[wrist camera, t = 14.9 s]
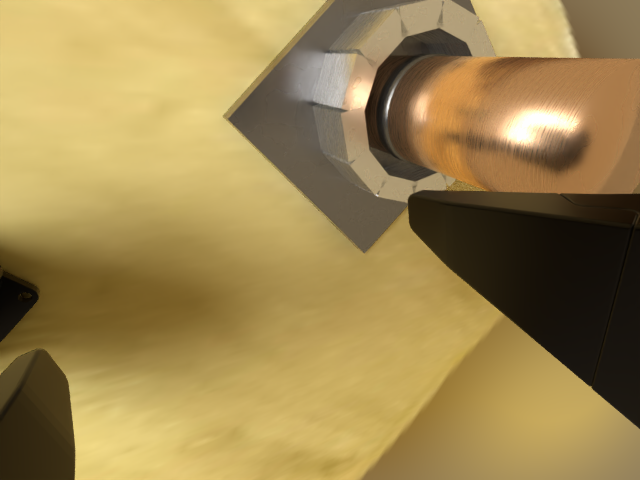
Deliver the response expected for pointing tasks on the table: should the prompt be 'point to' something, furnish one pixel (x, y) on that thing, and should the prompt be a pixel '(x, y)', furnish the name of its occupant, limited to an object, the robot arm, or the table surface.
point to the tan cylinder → (512, 120)
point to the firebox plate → (295, 129)
